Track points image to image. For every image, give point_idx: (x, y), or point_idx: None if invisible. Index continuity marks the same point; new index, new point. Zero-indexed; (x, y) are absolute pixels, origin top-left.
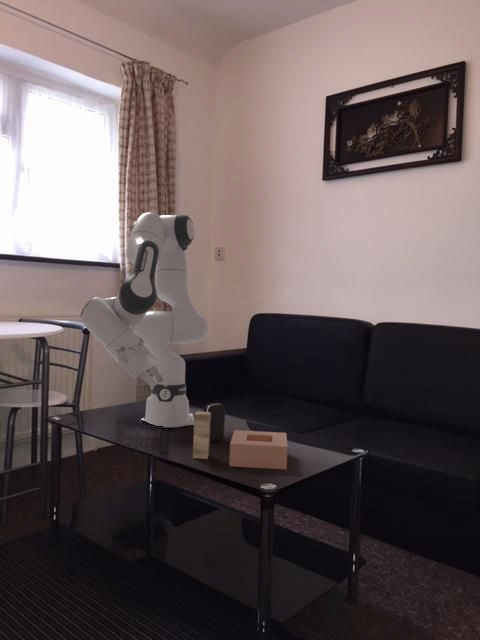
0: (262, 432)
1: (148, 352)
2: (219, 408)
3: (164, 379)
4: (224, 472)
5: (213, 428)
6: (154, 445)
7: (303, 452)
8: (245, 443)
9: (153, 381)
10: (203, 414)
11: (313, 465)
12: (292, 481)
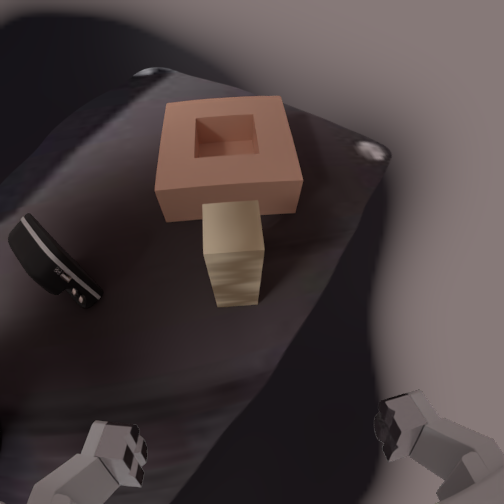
0: (169, 135)
1: None
2: (40, 226)
3: (98, 421)
4: (339, 216)
5: (79, 267)
6: (161, 438)
7: (161, 115)
8: (287, 152)
9: (429, 410)
10: (251, 219)
11: None
12: (333, 123)
